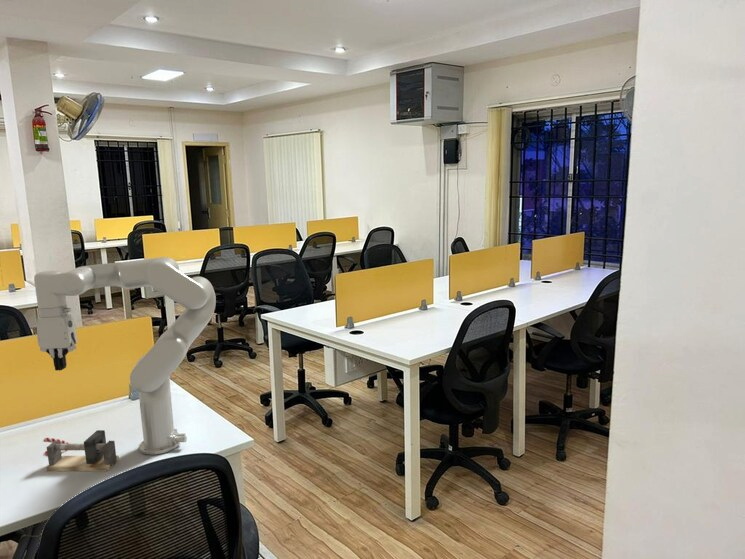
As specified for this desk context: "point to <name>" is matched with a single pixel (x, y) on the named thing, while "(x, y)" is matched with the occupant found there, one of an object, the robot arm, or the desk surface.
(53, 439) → the candy cane
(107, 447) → the rail fixture
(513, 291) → the desk surface
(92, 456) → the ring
